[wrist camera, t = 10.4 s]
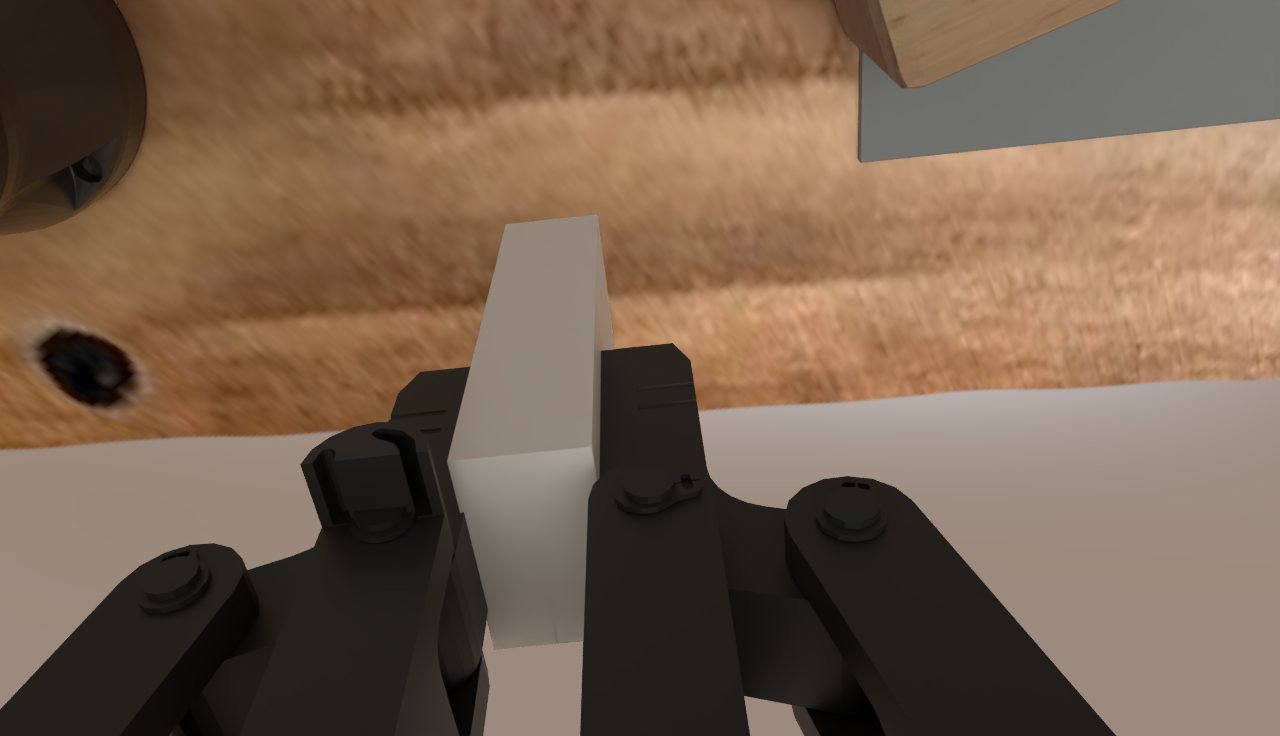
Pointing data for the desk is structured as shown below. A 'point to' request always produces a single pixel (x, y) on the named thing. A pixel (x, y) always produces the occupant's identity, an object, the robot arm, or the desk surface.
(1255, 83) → the mat
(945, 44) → the block
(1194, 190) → the desk surface
